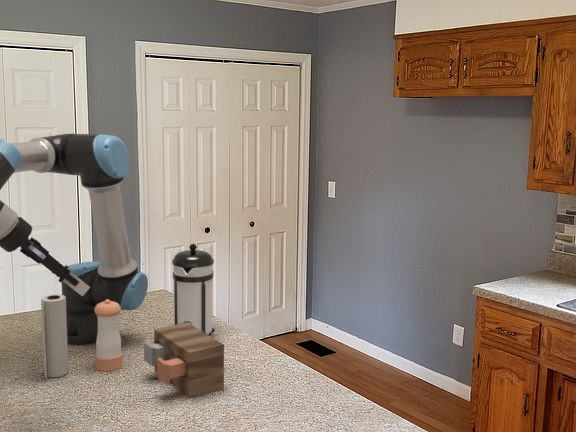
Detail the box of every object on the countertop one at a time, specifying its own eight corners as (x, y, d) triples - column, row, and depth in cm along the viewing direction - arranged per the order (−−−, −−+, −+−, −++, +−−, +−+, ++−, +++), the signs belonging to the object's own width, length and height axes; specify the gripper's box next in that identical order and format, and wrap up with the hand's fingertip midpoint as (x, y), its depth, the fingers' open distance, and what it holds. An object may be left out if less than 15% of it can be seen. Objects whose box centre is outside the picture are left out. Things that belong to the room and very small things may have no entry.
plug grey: (144, 360, 169) (143, 342, 168) (190, 349, 177) (190, 332, 176) (152, 366, 165) (151, 348, 164) (199, 355, 173) (199, 337, 172)
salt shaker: (111, 359, 180) (109, 294, 177) (128, 365, 176) (126, 299, 173) (90, 367, 174) (87, 300, 171) (107, 373, 170) (105, 305, 167)
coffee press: (228, 338, 198) (229, 245, 193) (181, 348, 189) (181, 251, 184) (203, 322, 212) (203, 235, 207) (158, 331, 203) (157, 240, 198)
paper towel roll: (62, 367, 174) (59, 292, 170) (72, 373, 170) (69, 297, 166) (36, 374, 169) (33, 297, 165) (46, 381, 165) (42, 302, 161)
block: (154, 371, 173) (154, 329, 171) (187, 363, 179) (187, 322, 177) (189, 398, 157) (188, 352, 155) (223, 388, 163) (224, 344, 161)
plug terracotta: (157, 377, 158) (156, 358, 157) (206, 365, 166) (206, 347, 165) (165, 384, 154) (165, 365, 153) (215, 371, 162) (215, 353, 162)
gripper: (-13, 236, 141) (65, 296, 153) (1, 247, 130) (83, 311, 143) (11, 211, 143) (86, 272, 156) (26, 220, 133) (106, 285, 145)
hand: (85, 291), depth 149 cm, fingers closed
